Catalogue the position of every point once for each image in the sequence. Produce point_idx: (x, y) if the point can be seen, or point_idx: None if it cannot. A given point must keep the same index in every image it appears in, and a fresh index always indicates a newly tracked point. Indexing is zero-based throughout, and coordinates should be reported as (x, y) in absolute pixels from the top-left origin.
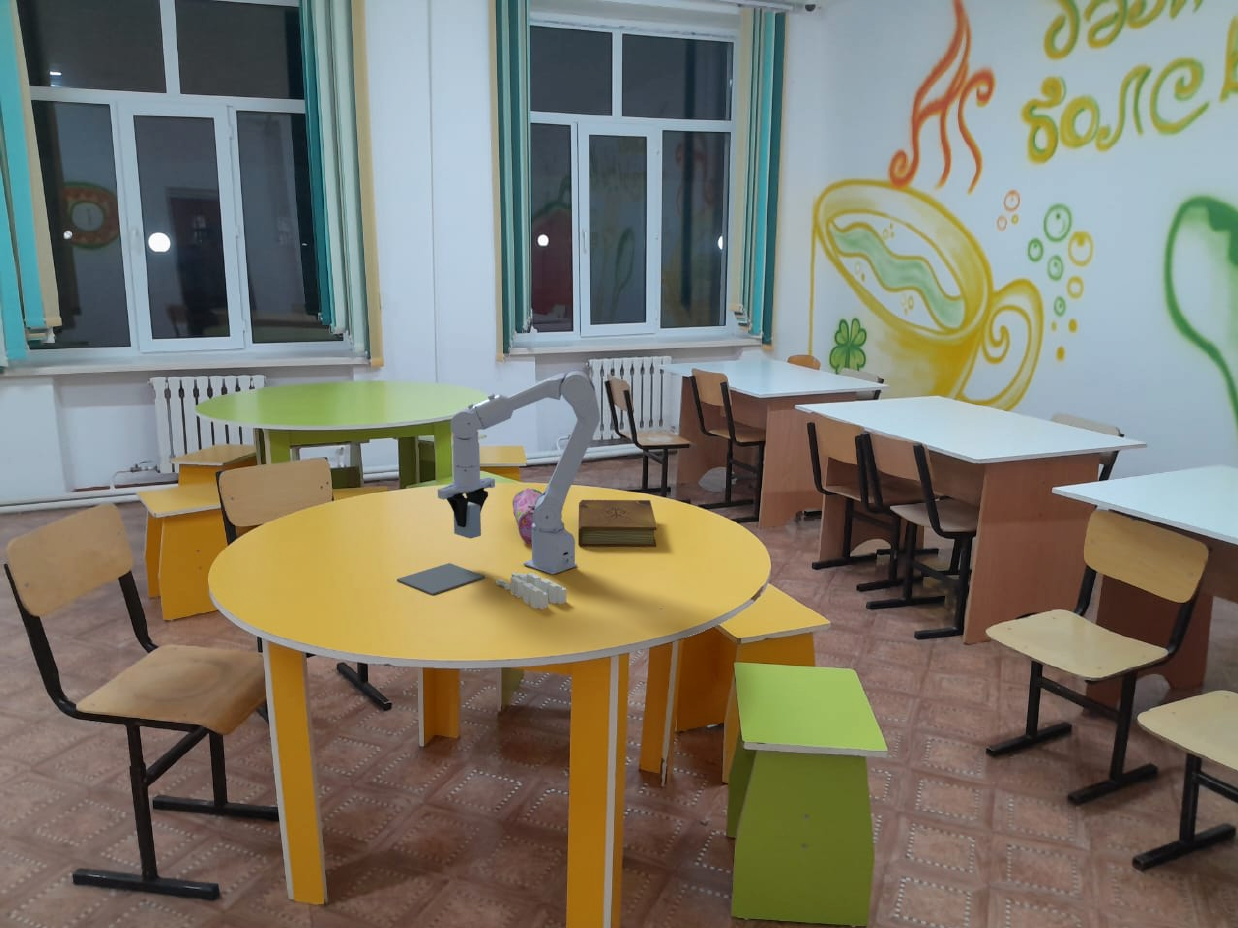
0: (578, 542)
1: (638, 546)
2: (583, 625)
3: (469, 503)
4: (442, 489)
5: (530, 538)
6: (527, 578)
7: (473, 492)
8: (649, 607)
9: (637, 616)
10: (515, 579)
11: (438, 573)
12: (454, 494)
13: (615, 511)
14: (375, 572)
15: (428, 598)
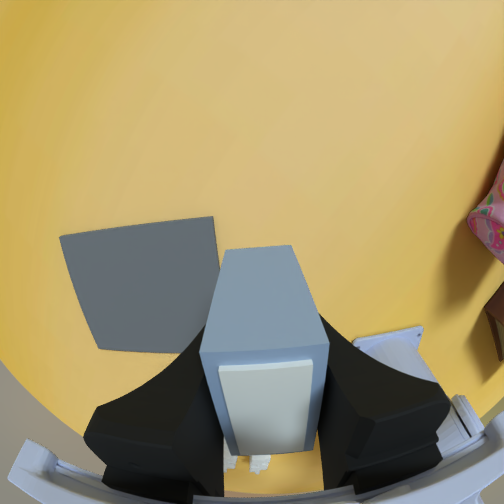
0: (488, 309)
1: (497, 351)
2: (233, 476)
3: (281, 429)
4: (36, 499)
5: (476, 231)
6: None
7: (339, 481)
8: (319, 475)
9: (291, 481)
10: (225, 442)
11: (145, 270)
12: (131, 499)
13: None
14: (47, 151)
15: (91, 350)
